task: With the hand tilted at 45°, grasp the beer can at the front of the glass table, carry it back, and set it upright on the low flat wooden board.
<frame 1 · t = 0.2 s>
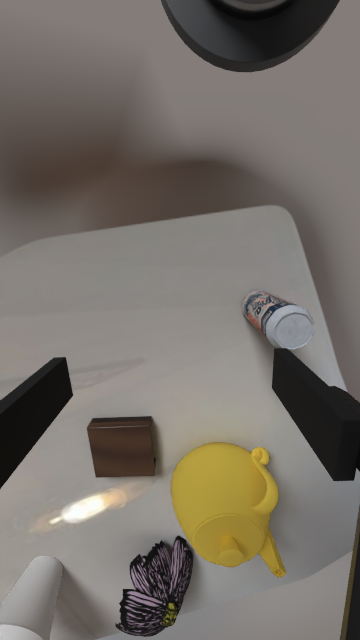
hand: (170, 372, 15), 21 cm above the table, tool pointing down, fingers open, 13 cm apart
beer can: (256, 305, 35), on the table
decorative flower: (159, 553, 49), on the table
teapot: (228, 473, 43), on the table
flat wooden board: (125, 441, 42), on the table
cup: (47, 565, 51), on the table
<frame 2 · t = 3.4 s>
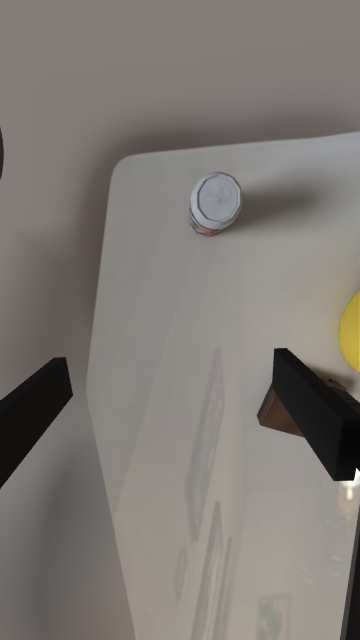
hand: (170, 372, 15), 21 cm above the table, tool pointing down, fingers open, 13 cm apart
beer can: (205, 218, 33), on the table
flat wooden board: (295, 398, 40), on the table
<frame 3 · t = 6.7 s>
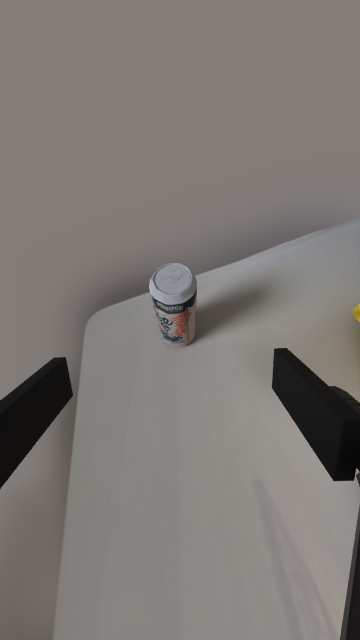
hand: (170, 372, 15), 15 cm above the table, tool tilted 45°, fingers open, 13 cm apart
beer can: (178, 333, 34), on the table
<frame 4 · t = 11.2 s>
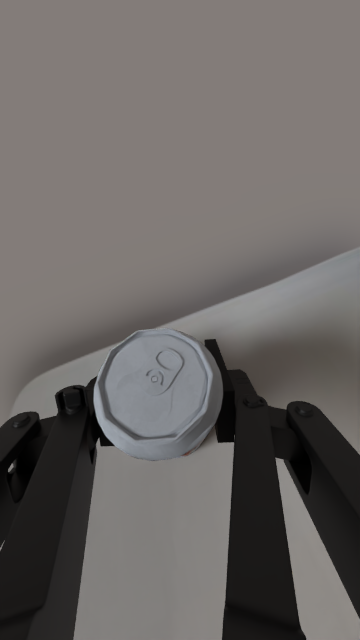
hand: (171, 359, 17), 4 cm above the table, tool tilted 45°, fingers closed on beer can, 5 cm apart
beer can: (175, 422, 19), on the table, touching gripper
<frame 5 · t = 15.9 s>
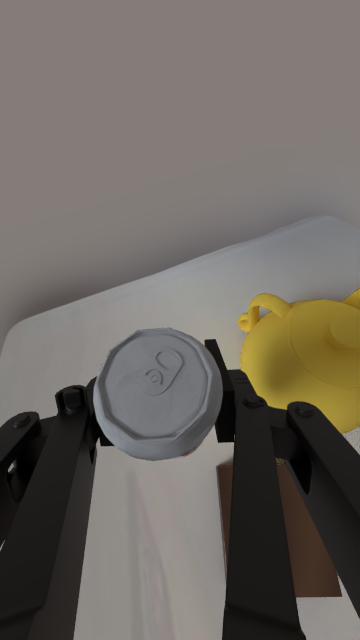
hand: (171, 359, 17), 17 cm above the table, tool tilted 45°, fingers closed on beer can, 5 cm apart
beer can: (175, 422, 19), point 13 cm above the table, touching gripper
teapot: (296, 358, 35), on the table
flat wooden board: (266, 519, 26), on the table
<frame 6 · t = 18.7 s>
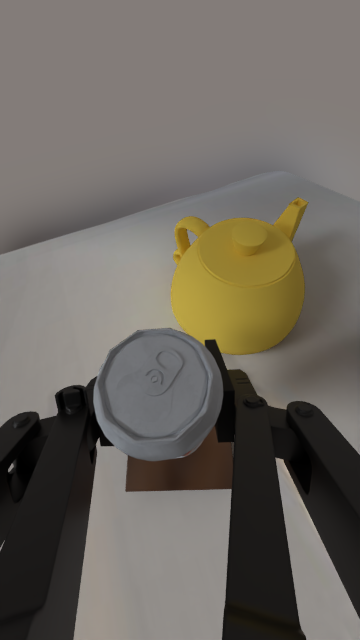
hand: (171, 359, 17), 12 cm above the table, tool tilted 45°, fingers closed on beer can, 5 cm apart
beer can: (175, 422, 19), point 9 cm above the table, touching gripper
teapot: (231, 294, 35), on the table
flat wooden board: (180, 431, 26), on the table
when the fingers open (6 cm above the table, at t = 20.8 s): beer can stays where it is, resting on flat wooden board.
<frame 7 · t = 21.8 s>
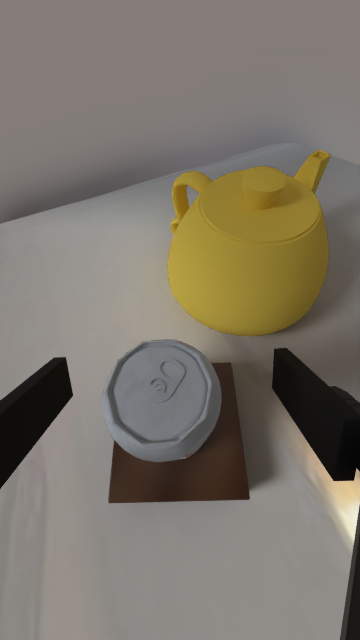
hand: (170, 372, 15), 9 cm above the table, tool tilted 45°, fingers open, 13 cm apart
beer can: (177, 425, 19), point 2 cm above the table, touching flat wooden board
teapot: (238, 270, 30), on the table
flat wooden board: (178, 427, 21), on the table
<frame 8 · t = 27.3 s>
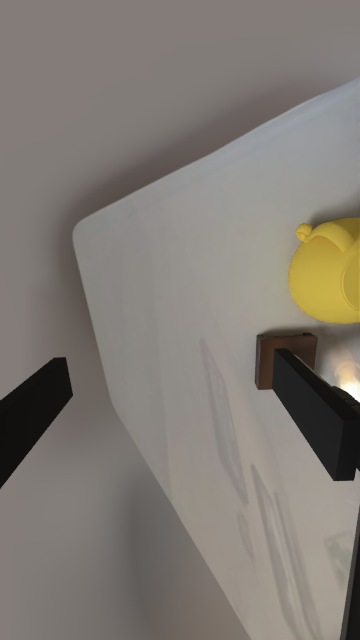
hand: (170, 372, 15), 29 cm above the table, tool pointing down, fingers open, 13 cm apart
teapot: (334, 259, 41), on the table
flat wooden board: (281, 358, 46), on the table
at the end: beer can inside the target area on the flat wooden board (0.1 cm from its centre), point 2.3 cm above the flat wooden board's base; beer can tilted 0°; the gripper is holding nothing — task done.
